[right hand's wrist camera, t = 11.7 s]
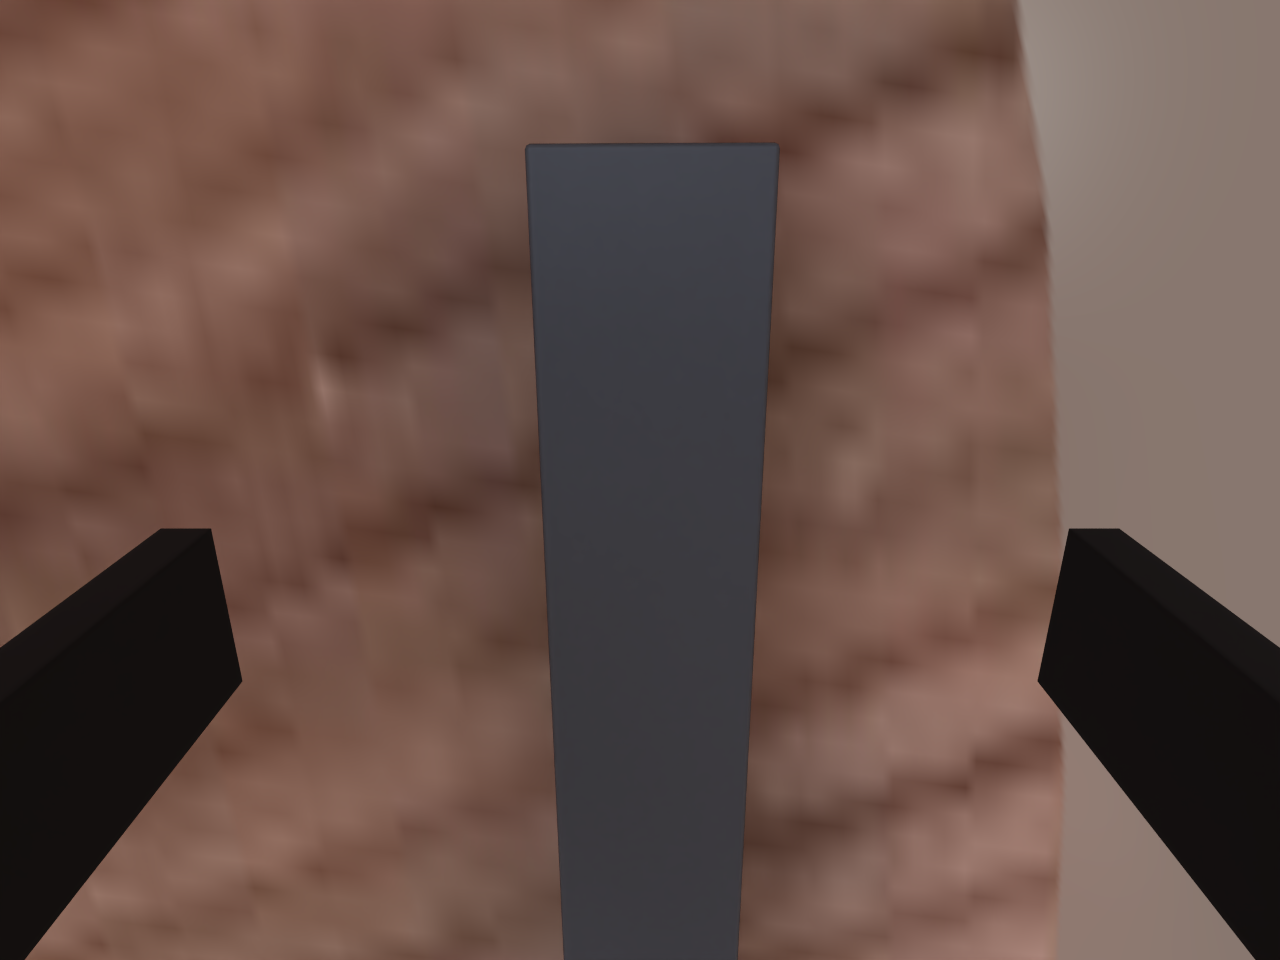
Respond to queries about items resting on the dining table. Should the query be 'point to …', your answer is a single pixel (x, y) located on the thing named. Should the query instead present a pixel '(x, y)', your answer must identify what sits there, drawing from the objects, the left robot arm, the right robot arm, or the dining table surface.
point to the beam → (651, 525)
